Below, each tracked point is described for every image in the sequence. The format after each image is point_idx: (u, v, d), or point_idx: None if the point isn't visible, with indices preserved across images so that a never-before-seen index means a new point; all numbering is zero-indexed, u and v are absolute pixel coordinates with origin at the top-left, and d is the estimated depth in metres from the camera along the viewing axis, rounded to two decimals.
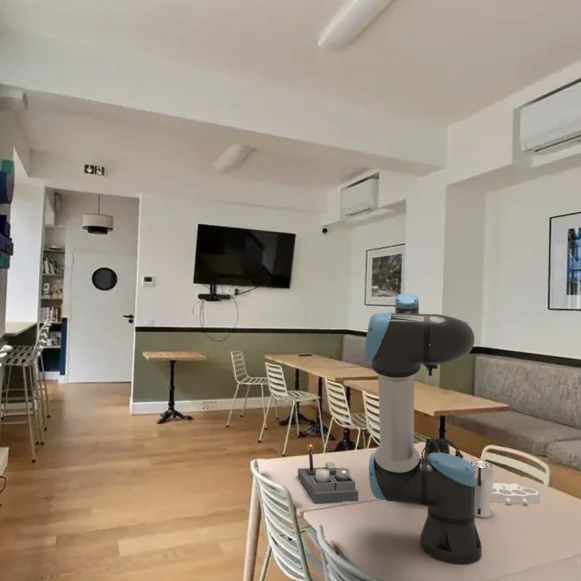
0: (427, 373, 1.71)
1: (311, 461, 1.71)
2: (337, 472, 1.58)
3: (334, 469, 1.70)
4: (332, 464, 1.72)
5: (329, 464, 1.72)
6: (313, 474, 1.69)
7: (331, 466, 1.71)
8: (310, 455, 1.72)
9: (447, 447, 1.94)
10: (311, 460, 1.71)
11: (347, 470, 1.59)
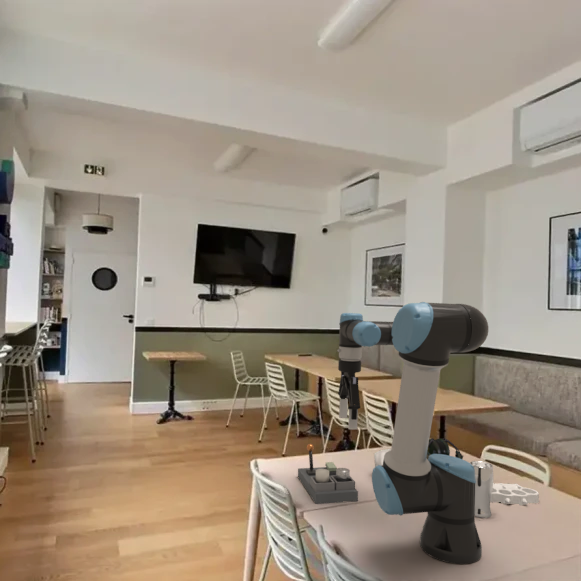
0: None
1: (311, 461, 1.71)
2: (337, 472, 1.58)
3: (334, 469, 1.70)
4: (332, 464, 1.72)
5: (329, 464, 1.72)
6: (313, 474, 1.69)
7: (331, 466, 1.71)
8: (310, 455, 1.72)
9: (447, 447, 1.94)
10: (311, 460, 1.71)
11: (347, 470, 1.59)
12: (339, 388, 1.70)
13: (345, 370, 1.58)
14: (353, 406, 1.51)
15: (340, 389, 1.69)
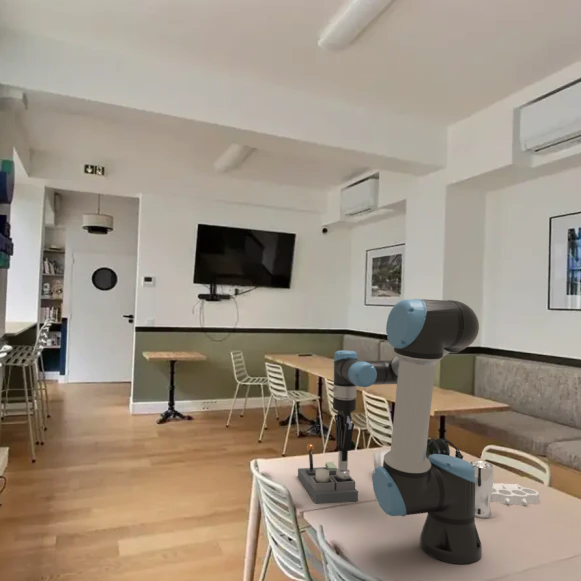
0: None
1: (311, 461, 1.71)
2: (337, 473, 1.58)
3: (334, 469, 1.70)
4: (332, 464, 1.72)
5: (329, 464, 1.72)
6: (313, 474, 1.69)
7: (331, 466, 1.71)
8: (310, 455, 1.72)
9: (447, 447, 1.94)
10: (311, 460, 1.71)
11: (347, 471, 1.59)
12: (336, 436, 1.63)
13: (341, 409, 1.56)
14: (344, 449, 1.56)
15: (337, 436, 1.62)
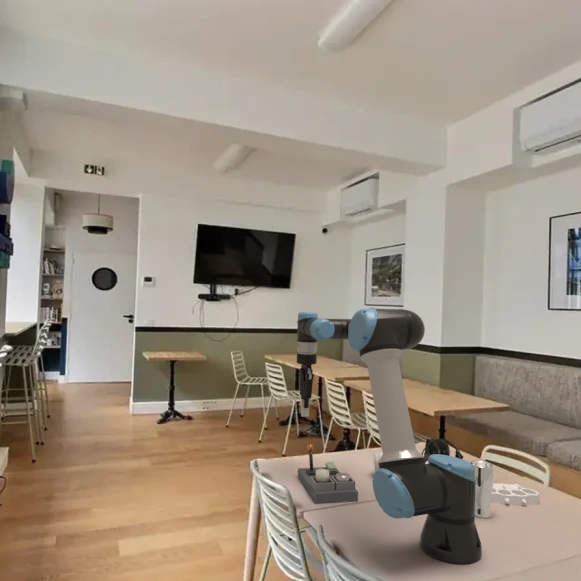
0: None
1: (311, 461, 1.71)
2: (337, 477, 1.58)
3: (334, 469, 1.70)
4: (332, 464, 1.72)
5: (329, 464, 1.72)
6: (313, 474, 1.69)
7: (331, 466, 1.71)
8: (310, 455, 1.72)
9: (447, 447, 1.94)
10: (311, 460, 1.71)
11: (347, 475, 1.59)
12: (300, 388, 1.85)
13: (303, 362, 1.79)
14: (305, 397, 1.78)
15: None
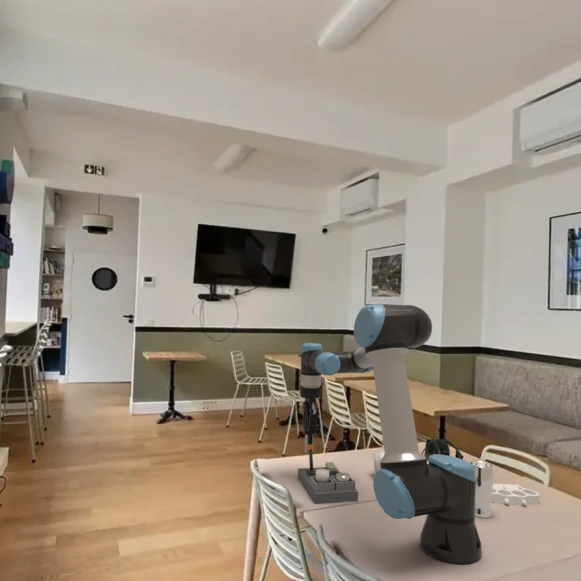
0: None
1: (311, 461, 1.71)
2: (337, 477, 1.58)
3: (334, 469, 1.70)
4: (332, 464, 1.72)
5: (329, 464, 1.72)
6: (313, 474, 1.69)
7: (331, 466, 1.71)
8: (310, 455, 1.72)
9: (447, 447, 1.94)
10: (311, 460, 1.71)
11: (347, 475, 1.59)
12: None
13: (306, 396, 1.72)
14: (309, 433, 1.71)
15: (304, 421, 1.78)
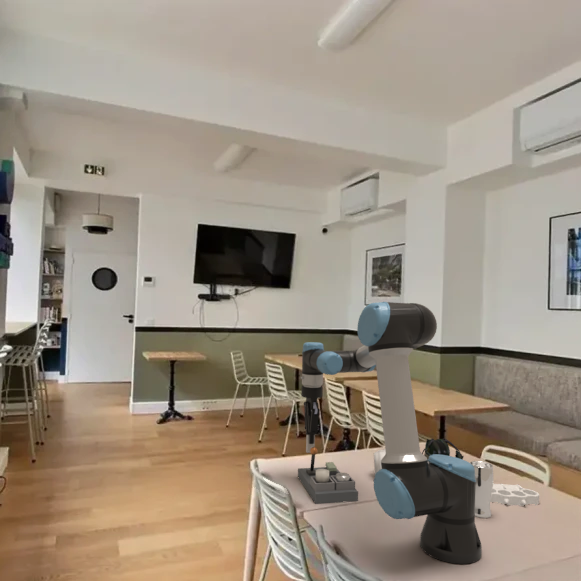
0: None
1: (312, 463, 1.69)
2: (337, 477, 1.58)
3: (334, 469, 1.70)
4: (332, 464, 1.72)
5: (329, 464, 1.72)
6: (313, 474, 1.69)
7: (331, 466, 1.71)
8: (312, 458, 1.69)
9: (447, 447, 1.94)
10: (313, 462, 1.69)
11: (347, 475, 1.59)
12: (305, 421, 1.76)
13: (308, 396, 1.70)
14: (311, 433, 1.69)
15: None
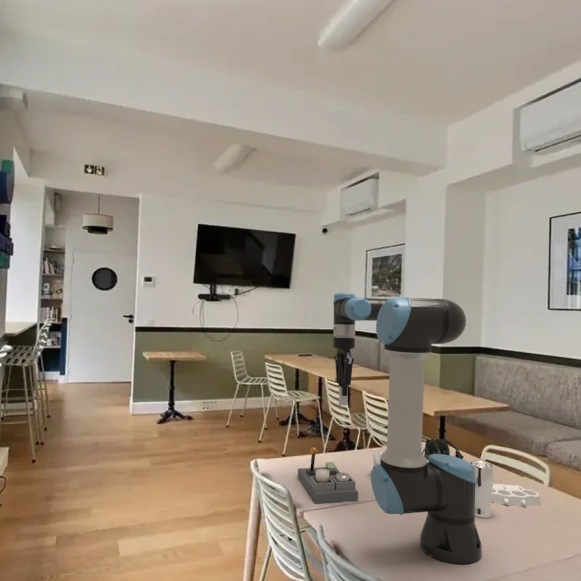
0: None
1: (312, 463, 1.69)
2: (337, 477, 1.58)
3: (334, 469, 1.70)
4: (332, 464, 1.72)
5: (329, 464, 1.72)
6: (313, 474, 1.69)
7: (331, 466, 1.71)
8: (312, 458, 1.69)
9: (447, 448, 1.93)
10: (313, 462, 1.69)
11: (347, 475, 1.59)
12: (336, 375, 1.73)
13: (341, 346, 1.66)
14: (344, 384, 1.66)
15: (337, 374, 1.72)
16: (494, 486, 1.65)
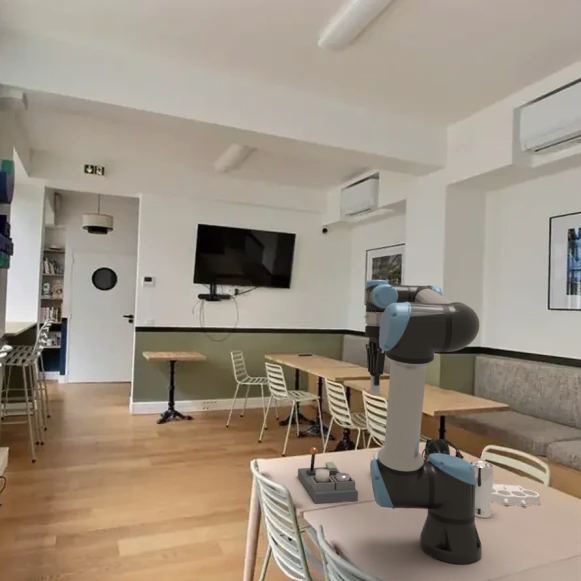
0: None
1: (312, 463, 1.69)
2: (337, 477, 1.58)
3: (334, 469, 1.70)
4: (332, 464, 1.72)
5: (329, 464, 1.72)
6: (313, 474, 1.69)
7: (331, 466, 1.71)
8: (312, 458, 1.69)
9: (447, 448, 1.93)
10: (313, 462, 1.69)
11: (347, 475, 1.59)
12: (368, 364, 1.68)
13: (373, 335, 1.62)
14: (377, 373, 1.61)
15: (369, 363, 1.68)
16: (494, 486, 1.64)
